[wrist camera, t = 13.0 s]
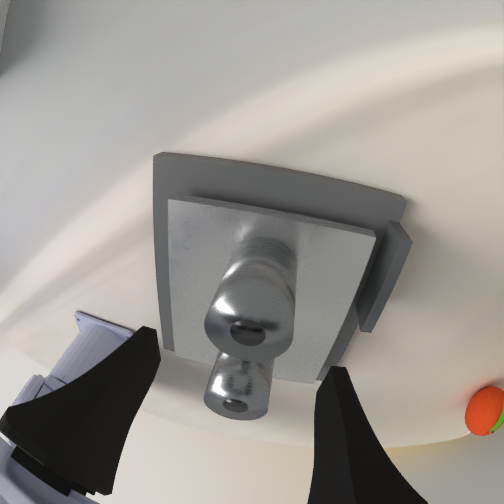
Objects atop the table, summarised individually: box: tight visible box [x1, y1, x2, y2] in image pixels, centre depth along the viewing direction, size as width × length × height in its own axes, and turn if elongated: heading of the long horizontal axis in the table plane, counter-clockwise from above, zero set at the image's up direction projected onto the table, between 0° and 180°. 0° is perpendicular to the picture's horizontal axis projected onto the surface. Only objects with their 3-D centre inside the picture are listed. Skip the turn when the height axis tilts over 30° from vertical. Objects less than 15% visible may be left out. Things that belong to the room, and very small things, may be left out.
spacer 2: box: [204, 350, 275, 420], centre depth 18 cm, size 4×4×6 cm
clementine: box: [465, 387, 504, 436], centre depth 22 cm, size 8×7×7 cm
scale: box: [153, 152, 413, 381], centre depth 20 cm, size 18×16×4 cm
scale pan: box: [168, 194, 376, 384], centre depth 20 cm, size 14×12×2 cm
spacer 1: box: [204, 237, 297, 361], centre depth 15 cm, size 4×4×6 cm
